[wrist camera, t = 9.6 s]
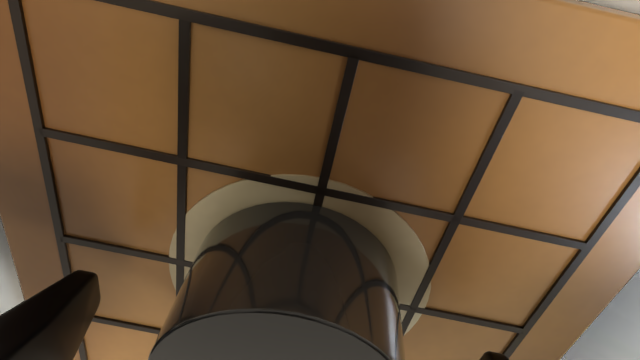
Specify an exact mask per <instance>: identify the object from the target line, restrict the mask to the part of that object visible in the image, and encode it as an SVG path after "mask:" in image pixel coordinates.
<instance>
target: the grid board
mask: <svg viewBox="0 0 640 360" xmlns="http://www.w3.org/2000/svg"><path fill="white" fill-rule="evenodd" d="M272 202H300V203H307V204H313V205H317V206H321V207H325V208H329V209H331V210H334V211H337V212H339V213H342V214H344V215H346V216H348V217H350V218H352V219H354V220H355V221H357V222H358V223H360V224H361V225H363V226H364V227H366V228H367V229H368V230H369V231H370V232H371V233H372V234H374V235H375V236H376V237H377V238H378V240H379V241H380V242H381V243H382V244H383V245H384V247H385V248H386V250H387V252H388V253H389V255H390V257H391V259H392V261H393V264H394V266H395V271H396V275H397V284H398V294H399V303H400V313H401V323H402V332H403V342H404V351H405V360H480V358H481V357H482V355H483V354H484V353H485V352H487V351H492V352H497V353H501V354H504V355H505V356H506V357H507V358H508V359H509V360H560V359H561V358H562V356H563V355H564V354H565V353H566V352H567V351H568V350H569V348H570V347H571V346H572V345H573V344H574V343H575V342H576V341H577V339H578V338H579V337H580V336H581V335H582V334H583V333H584V331H585V330H586V329H587V328H588V327H589V326H590V325H591V323H592V322H593V321H594V320H595V319H596V318H597V317H598V315H599V314H600V313H601V312H602V311H603V310H604V309H605V307H606V306H607V305H608V304H609V303H610V302H611V301H612V299H613V298H614V297H615V296H616V295H617V294H618V293H619V291H620V290H621V289H622V288H623V287H624V286H625V285H626V283H627V282H628V281H629V280H630V279H631V278H632V277H633V275H634V274H635V273H636V272H637V271H638V270H639V269H640V15H638V14H633V13H629V12H625V11H621V10H616V9H612V8H608V7H604V6H599V5H595V4H591V3H587V2H582V1H578V0H0V217H1V221H2V224H3V228H4V231H5V234H6V238H7V241H8V245H9V248H10V252H11V255H12V259H13V262H14V265H15V269H16V272H17V276H18V279H19V283H20V286H21V290H22V293H23V296H24V300H27V299H29V298H30V297H32V296H34V295H35V294H37V293H39V292H40V291H42V290H44V289H45V288H47V287H49V286H50V285H52V284H54V283H55V282H57V281H59V280H61V279H62V278H64V277H66V276H67V275H69V274H71V273H72V272H74V271H77V270H84V271H89V272H94V273H96V274H97V276H98V280H99V288H100V295H101V299H100V304H99V307H98V309H97V311H96V313H95V315H94V317H93V320H92V322H91V324H90V326H89V328H88V330H87V332H86V334H85V336H84V338H83V340H82V343H81V345H80V347H79V349H78V351H77V353H76V355H75V357H74V359H73V360H148V356H149V353H150V351H151V349H152V347H153V345H154V342H155V340H156V338H157V336H158V334H159V332H160V330H161V328H162V326H163V324H164V322H165V319H166V317H167V315H168V313H169V311H170V309H171V307H172V305H173V303H174V301H175V298H176V296H177V294H178V292H179V290H180V288H181V286H182V284H183V282H184V280H185V277H186V275H187V273H188V271H189V269H190V267H191V265H192V263H193V261H194V259H195V257H196V254H197V252H198V250H199V248H200V246H201V244H202V242H203V241H204V239H205V237H206V236H207V235H208V233H209V232H210V231H211V230H212V228H214V227H215V226H216V225H217V224H218V223H219V222H221V221H222V220H224V219H225V218H227V217H228V216H230V215H232V214H233V213H236V212H238V211H240V210H242V209H245V208H248V207H252V206H255V205H260V204H265V203H272Z"/></svg>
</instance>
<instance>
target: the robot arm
mask: <svg viewBox="0 0 640 360" xmlns="http://www.w3.org/2000/svg"><path fill="white" fill-rule="evenodd" d="M100 299H101V295H100V288H99V280H98V276H97V274H96V273H94V272H89V271H84V270H77V271H74V272H72V273H71V274H69V275H67V276H66V277H64V278H62V279H61V280H59V281H57V282H55V283H54V284H52V285H50V286H49V287H47V288H45V289H44V290H42V291H40V292H39V293H37V294H35V295H34V296H32V297H30V298H29V299H27V300H25V301H24V302H22V303H20V304H19V305H17V306H15V307H14V308H12V309H10V310H9V311H7V312H5V313H4V314H2V315H0V360H73V359H74V357H75V355H76V353H77V351H78V349H79V347H80V345H81V343H82V340H83V338H84V336H85V334H86V332H87V330H88V328H89V326H90V324H91V322H92V320H93V317H94V315H95V313H96V311H97V309H98V307H99V304H100ZM480 360H509V359H508V358H507V357H506V356H505V355H504V354H501V353H497V352H492V351H487V352H485V353H484V354H483V355H482V357H481V358H480Z"/></svg>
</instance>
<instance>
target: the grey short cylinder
mask: <svg viewBox="0 0 640 360" xmlns="http://www.w3.org/2000/svg"><path fill="white" fill-rule="evenodd" d="M148 360H405V351H404V342H403V332H402V323H401V313H400V303H399V294H398V284H397V275H396V271H395V266H394V264H393V261H392V259H391V257H390V255H389V253H388V252H387V250H386V248H385V247H384V245H383V244H382V243H381V242H380V241H379V240H378V238H377V237H376V236H375V235H374V234H372V233H371V232H370V231H369V230H368V229H367V228H366V227H364V226H363V225H361V224H360V223H358V222H357V221H355V220H354V219H352V218H350V217H348V216H346V215H344V214H342V213H339V212H337V211H334V210H331V209H329V208H325V207H321V206H317V205H313V204H307V203H300V202H272V203H265V204H260V205H255V206H252V207H248V208H245V209H242V210H240V211H238V212H236V213H233V214H232V215H230V216H228V217H227V218H225V219H224V220H222V221H221V222H219V223H218V224H217V225H216V226H215V227H214V228H212V230H211V231H210V232H209V233H208V235H207V236H206V237H205V239H204V241H203V242H202V244H201V246H200V248H199V250H198V252H197V254H196V257H195V259H194V261H193V263H192V265H191V267H190V269H189V271H188V273H187V275H186V277H185V280H184V282H183V284H182V286H181V288H180V290H179V292H178V294H177V296H176V298H175V301H174V303H173V305H172V307H171V309H170V311H169V313H168V315H167V317H166V319H165V322H164V324H163V326H162V328H161V330H160V332H159V334H158V336H157V338H156V340H155V342H154V345H153V347H152V349H151V351H150V353H149V356H148Z"/></svg>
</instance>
